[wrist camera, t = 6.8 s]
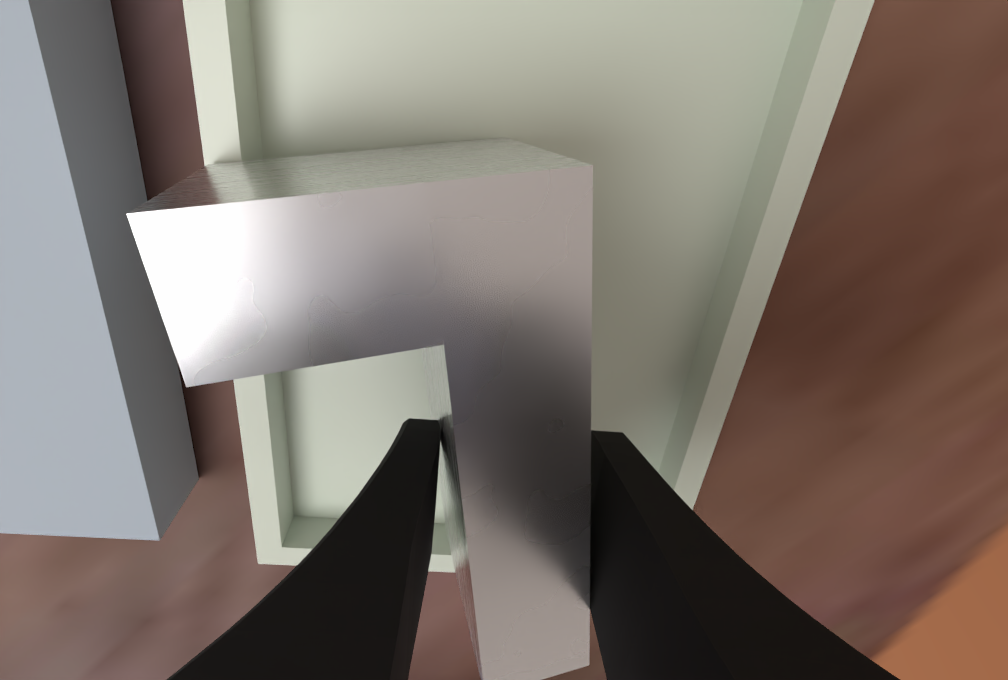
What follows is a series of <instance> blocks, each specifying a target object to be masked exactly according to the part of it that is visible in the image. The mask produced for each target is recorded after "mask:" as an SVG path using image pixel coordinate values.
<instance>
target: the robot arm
mask: <svg viewBox="0 0 1008 680" xmlns="http://www.w3.org/2000/svg"><path fill="white" fill-rule="evenodd" d="M440 440H441V427H440V424H439V421H438V420H429V419H413V418H409V419H407V420H406V421H405V422H403V424H402V426H401V428H400V430H399V432H398V434H397V436H396V438H395V440H394V442H393V443H392V445H391V447H390V449H389V450H388V452H387V453H386V455H385V457H384V458H383V460H382V461H381V463H380V464H379V466H378V467H377V469H376V470H375V472H374V473H373V474H372V476H371V477H370V479H369V480H368V482H367V483H366V484H365V486H364V487H363V489H362V490H361V491H360V493H359V494H358V495H357V497H356V498H355V499H354V501H353V502H352V503H351V504H350V505H349V507H348V508H347V509H346V510H345V512H344V513H343V514H342V515H341V517H340V518H339V519H338V520H337V522H336V523H335V524H334V525H333V526H332V528H331V529H330V530H329V531H328V532H327V534H326V535H325V536H324V537H323V538H322V539H321V540H320V541H319V543H318V544H317V545H316V546H315V547H314V548H313V549H312V550H311V551H310V552H309V553H308V555H307V556H306V557H305V558H304V559H303V560H302V561H301V562H300V563H299V564H298V565H297V566H296V567H295V568H294V569H293V570H292V571H291V572H290V573H289V574H288V575H287V576H286V577H285V578H284V579H283V580H282V581H281V582H280V583H279V584H278V585H277V586H276V587H275V588H274V589H273V590H271V591H270V592H269V593H268V594H267V595H266V596H265V597H264V598H263V599H262V600H261V601H260V602H259V603H258V604H257V605H256V606H255V607H253V608H252V609H251V610H250V611H249V612H248V613H247V614H246V615H245V616H243V617H242V618H241V619H240V620H239V621H238V622H237V623H235V624H234V625H233V626H232V627H231V628H230V629H229V630H227V631H226V632H225V633H224V634H222V635H221V636H220V637H219V638H217V639H216V640H215V641H214V642H213V643H211V644H210V645H209V646H208V647H206V648H205V649H204V650H203V651H201V652H200V653H199V654H198V655H197V656H195V657H194V658H193V659H192V660H190V661H189V662H188V663H187V664H186V665H184V666H183V667H182V668H181V669H179V670H178V671H177V672H176V673H174V674H173V675H172V676H171V677H169V678H168V679H167V680H408V675H409V669H410V664H411V659H412V654H413V648H414V643H415V638H416V633H417V627H418V622H419V617H420V612H421V606H422V601H423V596H424V590H425V585H426V580H427V575H428V569H429V564H430V559H431V553H432V542H433V531H434V520H435V509H436V496H437V482H438V468H439V454H440ZM590 609H591V614H592V618H593V622H594V626H595V630H596V635H597V639H598V643H599V647H600V652H601V656H602V660H603V664H604V668H605V673H606V677H607V680H900V679H898V678H897V677H895V676H894V675H892V674H891V673H889V672H888V671H886V670H885V669H883V668H882V667H880V666H879V665H877V664H876V663H874V662H873V661H872V660H870V659H869V658H867V657H866V656H864V655H863V654H861V653H860V652H858V651H857V650H856V649H854V648H853V647H851V646H850V645H849V644H847V643H846V642H845V641H843V640H842V639H841V638H839V637H838V636H837V635H835V634H834V633H833V632H831V631H830V630H829V629H827V628H826V627H824V626H823V625H822V624H820V623H819V622H818V621H816V620H815V619H814V618H812V617H811V616H810V615H808V614H807V613H806V612H805V611H803V610H802V609H801V608H800V607H798V606H797V605H796V604H794V603H793V602H792V601H791V600H789V599H788V598H787V597H786V596H785V595H783V594H782V593H781V592H780V591H779V590H778V589H776V588H775V587H774V586H773V585H772V584H770V583H769V582H768V581H767V580H766V579H765V578H763V577H762V576H761V575H760V574H759V573H757V572H756V571H755V570H754V569H753V568H752V567H751V566H749V565H748V564H747V563H746V562H745V561H744V560H743V559H742V558H741V557H739V556H738V555H737V554H736V553H735V552H734V551H733V550H732V549H731V548H730V547H729V546H728V545H727V544H726V543H725V542H724V541H723V540H722V539H721V538H720V537H719V536H718V535H717V534H715V533H714V532H713V531H712V530H711V529H710V528H709V527H708V526H707V525H706V524H705V523H704V522H703V521H702V520H701V519H700V518H699V517H698V515H697V514H696V513H695V512H694V511H693V510H692V509H691V508H690V507H689V506H688V505H687V504H686V503H685V502H684V501H683V500H682V499H681V497H680V496H679V495H678V494H677V493H676V492H675V491H674V490H673V489H672V488H671V487H670V485H669V484H668V483H667V482H666V481H665V480H664V479H663V478H662V476H661V475H660V474H659V473H658V472H657V471H656V470H655V469H654V467H653V466H652V465H651V464H650V463H649V462H648V460H647V459H646V458H645V457H644V456H643V455H642V454H641V452H640V451H639V450H638V449H637V448H636V447H635V445H634V444H633V443H632V442H631V441H630V440H629V439H628V438H627V436H626V435H625V434H624V433H623V432H610V431H595V430H591V505H590Z"/></svg>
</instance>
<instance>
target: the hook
mask: <svg viewBox="0 0 1008 680" xmlns="http://www.w3.org/2000/svg"><path fill="white" fill-rule="evenodd" d="M127 217H128V220H129V223H130V226H131V229H132V231H133V234H134V237H135V240H136V243H137V246H138V249H139V252H140V255H141V258H142V260H143V263H144V266H145V269H146V272H147V275H148V278H149V281H150V284H151V286H152V289H153V292H154V295H155V298H156V301H157V304H158V307H159V310H160V313H161V315H162V318H163V321H164V324H165V327H166V330H167V333H168V336H169V339H170V342H171V344H172V347H173V350H174V353H175V356H176V359H177V362H178V365H179V368H180V370H181V373H182V376H183V379H184V382H185V385H186V387H192V386H198V385H204V384H210V383H216V382H222V381H228V380H234V379H240V378H246V377H252V376H258V375H264V374H270V373H276V372H282V371H289V370H295V369H301V368H307V367H313V366H319V365H325V364H331V363H337V362H343V361H349V360H355V359H361V358H367V357H373V356H379V355H385V354H391V353H397V352H403V351H409V350H415V349H421V348H422V355H423V363H424V370H425V378H426V385H427V392H428V400H429V407H430V414H431V420H438V421H439V424H440V427H441V440H440V454H439V468H438V473H439V481H440V488H441V495H442V503H443V510H444V517H445V525H446V532H447V539H448V543H449V547H450V552H451V556H452V560H453V564H454V568H455V573H456V577H457V581H458V585H459V590H460V594H461V598H462V602H463V606H464V611H465V615H466V619H467V623H468V627H469V632H470V636H471V640H472V644H473V648H474V653H475V657H476V661H477V665H478V670H479V674H480V678H481V680H542V679H545V678H549V677H552V676H555V675H559V674H562V673H565V672H569V671H572V670H575V669H579V668H582V667H585V666H589V642H590V505H591V367H592V230H593V165H591V164H588V163H585V162H582V161H579V160H575V159H572V158H569V157H566V156H563V155H560V154H556V153H553V152H550V151H547V150H544V149H541V148H538V147H534V146H531V145H528V144H525V143H522V142H519V141H515V140H512V139H509V138H506V137H503V138H492V139H481V140H470V141H459V142H448V143H437V144H426V145H415V146H404V147H393V148H382V149H371V150H360V151H348V152H337V153H326V154H315V155H304V156H293V157H282V158H271V159H260V160H249V161H238V162H227V163H216V164H208V165H206V166H205V167H203V168H201V169H200V170H198V171H196V172H195V173H193V174H191V175H190V176H188V177H186V178H185V179H183V180H181V181H180V182H178V183H176V184H175V185H173V186H171V187H170V188H168V189H167V190H165V191H163V192H162V193H160V194H158V195H157V196H155V197H153V198H152V199H150V200H148V201H147V202H145V203H143V204H142V205H140V206H138V207H137V208H135V209H133V210H132V211H130V212H129V213H127Z"/></svg>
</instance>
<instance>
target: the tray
mask: <svg viewBox="0 0 1008 680" xmlns="http://www.w3.org/2000/svg"><path fill="white" fill-rule="evenodd" d="M873 3H874V0H183V7H184V14H185V22H186V29H187V37H188V44H189V52H190V59H191V67H192V74H193V82H194V89H195V97H196V104H197V112H198V119H199V126H200V134H201V141H202V149H203V156H204V164H205V166H206V165H208V164H216V163H227V162H238V161H249V160H260V159H271V158H282V157H293V156H304V155H315V154H326V153H337V152H348V151H360V150H371V149H382V148H393V147H404V146H415V145H426V144H437V143H448V142H459V141H470V140H481V139H492V138H503V137H506V138H509V139H512V140H515V141H519V142H522V143H525V144H528V145H531V146H534V147H538V148H541V149H544V150H547V151H550V152H553V153H556V154H560V155H563V156H566V157H569V158H572V159H575V160H579V161H582V162H585V163H588V164H591V165H593V230H592V367H591V430H595V431H610V432H623V433H624V434H625V435H626V436H627V438H628V439H629V440H630V441H631V442H632V443H633V444H634V445H635V447H636V448H637V449H638V450H639V451H640V452H641V454H642V455H643V456H644V457H645V458H646V459H647V460H648V462H649V463H650V464H651V465H652V466H653V467H654V469H655V470H656V471H657V472H658V473H659V474H660V475H661V476H662V478H663V479H664V480H665V481H666V482H667V483H668V484H669V485H670V487H671V488H672V489H673V490H674V491H675V492H676V493H677V494H678V495H679V496H680V497H681V499H682V500H683V501H684V502H685V503H686V504H687V505H688V506H689V507H690V508H691V509H692V510H693V507H694V504H695V502H696V499H697V496H698V493H699V490H700V488H701V485H702V482H703V479H704V476H705V474H706V471H707V468H708V465H709V462H710V460H711V457H712V454H713V451H714V448H715V446H716V443H717V440H718V437H719V434H720V432H721V429H722V426H723V423H724V420H725V418H726V415H727V412H728V409H729V406H730V404H731V401H732V398H733V395H734V392H735V390H736V387H737V384H738V381H739V378H740V376H741V373H742V370H743V367H744V364H745V362H746V359H747V356H748V353H749V350H750V348H751V345H752V342H753V339H754V336H755V334H756V331H757V328H758V325H759V322H760V320H761V317H762V314H763V311H764V308H765V306H766V303H767V300H768V297H769V294H770V292H771V289H772V286H773V283H774V280H775V278H776V275H777V272H778V269H779V266H780V264H781V261H782V258H783V255H784V252H785V250H786V247H787V244H788V241H789V238H790V236H791V233H792V230H793V227H794V224H795V222H796V219H797V216H798V213H799V210H800V208H801V205H802V202H803V199H804V196H805V194H806V191H807V188H808V185H809V182H810V180H811V177H812V174H813V171H814V168H815V166H816V163H817V160H818V157H819V154H820V152H821V149H822V146H823V143H824V140H825V138H826V135H827V132H828V129H829V126H830V124H831V121H832V118H833V115H834V112H835V110H836V107H837V104H838V101H839V98H840V96H841V93H842V90H843V87H844V84H845V82H846V79H847V76H848V73H849V70H850V68H851V65H852V62H853V59H854V56H855V54H856V51H857V48H858V45H859V42H860V40H861V37H862V34H863V31H864V28H865V26H866V23H867V20H868V17H869V14H870V12H871V9H872V6H873ZM234 388H235V395H236V403H237V410H238V418H239V425H240V433H241V440H242V448H243V455H244V463H245V470H246V478H247V485H248V492H249V500H250V507H251V515H252V522H253V530H254V537H255V545H256V552H257V560H258V564H274V565H298V564H299V563H300V562H301V561H302V560H303V559H304V558H305V557H306V556H307V555H308V553H309V552H310V551H311V550H312V549H313V548H314V547H315V546H316V545H317V544H318V543H319V541H320V540H321V539H322V538H323V537H324V536H325V535H326V534H327V532H328V531H329V530H330V529H331V528H332V526H333V525H334V524H335V523H336V522H337V520H338V519H339V518H340V517H341V515H342V514H343V513H344V512H345V510H346V509H347V508H348V507H349V505H350V504H351V503H352V502H353V501H354V499H355V498H356V497H357V495H358V494H359V493H360V491H361V490H362V489H363V487H364V486H365V484H366V483H367V482H368V480H369V479H370V477H371V476H372V474H373V473H374V472H375V470H376V469H377V467H378V466H379V464H380V463H381V461H382V460H383V458H384V457H385V455H386V453H387V452H388V450H389V449H390V447H391V445H392V443H393V442H394V440H395V438H396V436H397V434H398V432H399V430H400V428H401V426H402V424H403V422H405V421H406V420H407V419H409V418H413V419H429V420H431V414H430V407H429V400H428V392H427V385H426V378H425V370H424V363H423V355H422V348H421V349H415V350H409V351H403V352H397V353H391V354H385V355H379V356H373V357H367V358H361V359H355V360H349V361H343V362H337V363H331V364H325V365H319V366H313V367H307V368H301V369H295V370H289V371H282V372H276V373H270V374H264V375H258V376H252V377H246V378H240V379H234ZM428 571H435V572H455V568H454V564H453V560H452V556H451V552H450V547H449V543H448V539H447V532H446V525H445V517H444V510H443V503H442V495H441V488H440V481H439V473H438V482H437V496H436V509H435V520H434V531H433V542H432V553H431V559H430V564H429V569H428Z"/></svg>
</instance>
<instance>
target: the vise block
mask: <svg viewBox="0 0 1008 680" xmlns="http://www.w3.org/2000/svg"><path fill="white" fill-rule="evenodd" d="M145 202H147V196H146V190H145V185H144V180H143V174H142V169H141V163H140V158H139V153H138V147H137V142H136V136H135V131H134V126H133V120H132V115H131V109H130V104H129V99H128V93H127V88H126V82H125V77H124V72H123V66H122V61H121V55H120V50H119V45H118V39H117V34H116V28H115V23H114V18H113V12H112V7H111V1H110V0H0V533H9V534H31V535H53V536H74V537H96V538H117V539H139V540H160V539H161V538H162V536H163V535H164V533H165V531H166V530H167V528H168V527H169V525H170V524H171V522H172V520H173V519H174V517H175V516H176V514H177V513H178V511H179V509H180V508H181V506H182V505H183V503H184V502H185V500H186V498H187V497H188V495H189V494H190V492H191V491H192V489H193V488H194V486H195V484H196V483H197V481H198V480H199V477H198V471H197V466H196V460H195V455H194V450H193V444H192V439H191V433H190V428H189V423H188V417H187V412H186V406H185V401H184V396H183V390H182V385H181V379H180V374H179V369H178V363H177V359H176V356H175V353H174V350H173V347H172V344H171V342H170V339H169V336H168V333H167V330H166V327H165V324H164V321H163V318H162V315H161V313H160V310H159V307H158V304H157V301H156V298H155V295H154V292H153V289H152V286H151V284H150V281H149V278H148V275H147V272H146V269H145V266H144V263H143V260H142V258H141V255H140V252H139V249H138V246H137V243H136V240H135V237H134V234H133V231H132V229H131V226H130V223H129V220H128V217H127V213H129V212H130V211H132V210H133V209H135V208H137V207H138V206H140V205H142V204H143V203H145Z"/></svg>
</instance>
